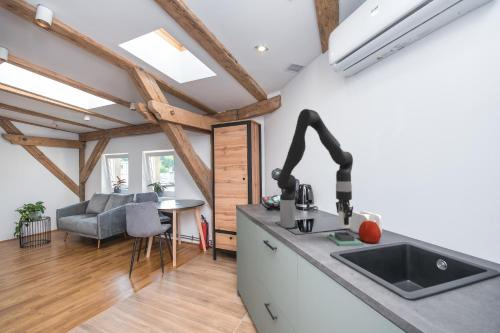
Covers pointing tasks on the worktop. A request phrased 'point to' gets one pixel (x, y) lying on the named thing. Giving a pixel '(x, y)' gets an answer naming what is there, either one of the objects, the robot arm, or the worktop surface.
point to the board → (344, 239)
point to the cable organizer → (364, 216)
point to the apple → (369, 232)
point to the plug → (341, 220)
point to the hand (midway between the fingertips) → (344, 223)
